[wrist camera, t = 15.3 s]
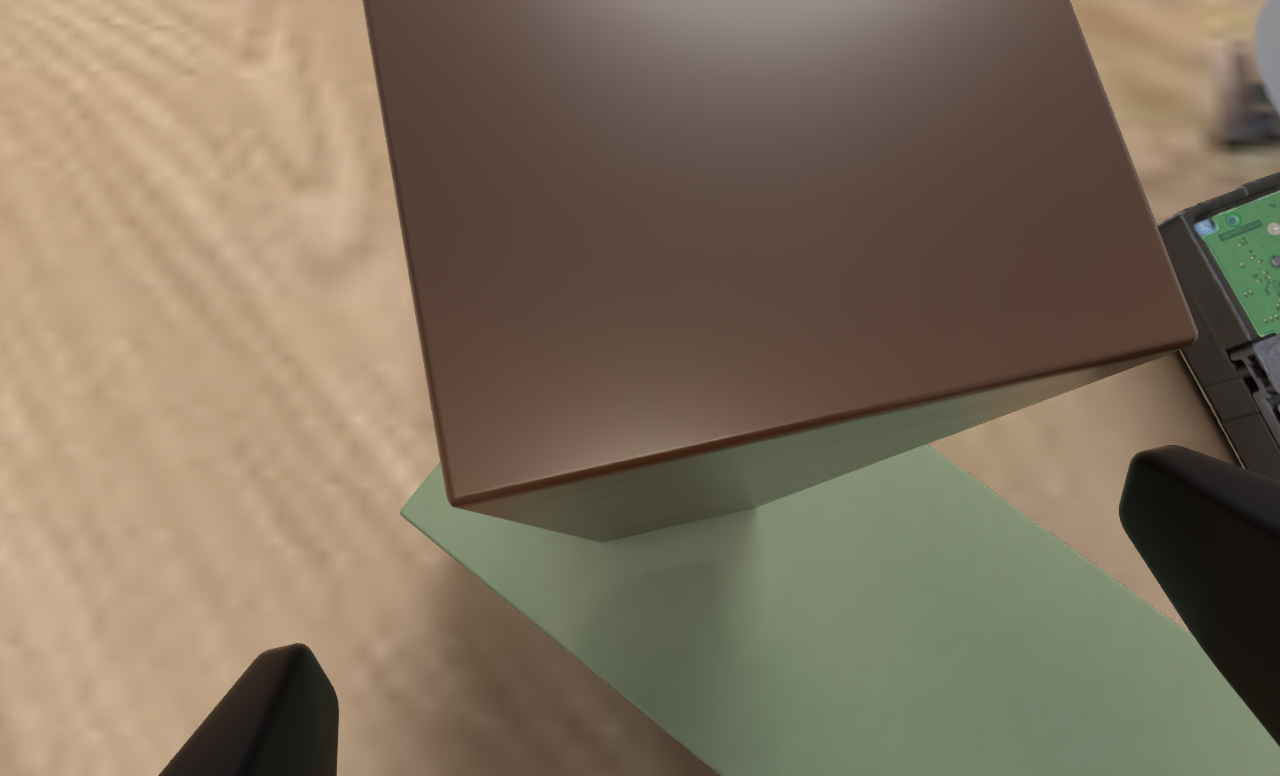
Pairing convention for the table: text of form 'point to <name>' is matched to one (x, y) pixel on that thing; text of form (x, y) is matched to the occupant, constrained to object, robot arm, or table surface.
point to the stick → (750, 240)
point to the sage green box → (871, 635)
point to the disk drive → (1235, 312)
